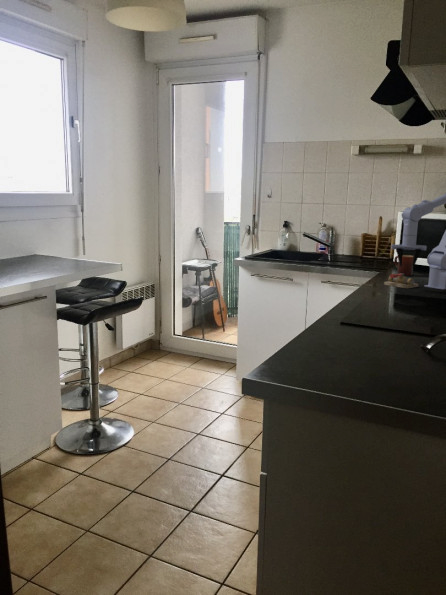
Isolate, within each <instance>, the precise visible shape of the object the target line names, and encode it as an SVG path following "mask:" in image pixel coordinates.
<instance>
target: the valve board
mask: <svg viewBox="0 0 446 595" xmlns="http://www.w3.org/2000/svg"><path fill="white" fill-rule="evenodd" d="M415 282H416V281H415V279H414V278H410V277H409V278H408V276H398V277H397V278H391V277H390V276H389V277H388V281H384V282H383V285H385V286H391V287H396V288H397V287H398V288H402V289H411V288H412V289H413V288H416V287H417V288H418V287H419V283H415Z"/></svg>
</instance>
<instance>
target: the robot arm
mask: <svg viewBox="0 0 446 595" xmlns="http://www.w3.org/2000/svg"><path fill="white" fill-rule="evenodd" d="M443 205H446V192H444V194H441V195H440V196H438V197H436V198H434V199H432V200H427V199H423V200H421V202H419V203H418V204H413V205H412V206H411V207H406V208H405V209H404V210H403V211H402V213H401V217H402V221H403V231H402V243H401V244H390V245H391V246H390V249H391V250H395V252H396V254H397V255H396V256H398V258H399V265H400V266H402V256H403V255H404V251H403V250H406V251H407V250H409V251H411V250H413V255H412V256H413V263H412V266H413V267H416V263H417V260H418V258H419V256H420V255H421V253H422V251H427V248H428V246H427V245H420V244H417V237H418V226H419V221H420V220H421V219H422V218H423V217H424V216H426V215H429V214H431V213H432V212H434V209H436V208H438V207H441V206H443ZM398 258H397V259H398ZM426 263H427V264H428V267H429V274H428V284H424V287H425V288H430V289H436V290H437V289H438V290H446V230H445V231H444V233H443V235H442V237H441V240H440V242H439V244H438V245H437V246H435V247H434V248H432V250H431V252H430V253H429V254H428V256H427V258H426Z"/></svg>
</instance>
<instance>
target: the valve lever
mask: <svg viewBox="0 0 446 595" xmlns="http://www.w3.org/2000/svg"><path fill="white" fill-rule="evenodd" d="M398 276H404V273H400V274H398V273H391V274H389V277H391V278H397V277H398ZM404 277H405V276H404Z"/></svg>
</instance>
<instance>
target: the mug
mask: <svg viewBox="0 0 446 595" xmlns="http://www.w3.org/2000/svg"><path fill="white" fill-rule="evenodd" d="M393 261H394V265H395V267H396V268H397V270H396V271H397V274H400V273H404V277H410V276H412V274H413V272H414V270H413V269H414V266H412V263H413V255H410V254H403V256H402V266H400V265H399V258H398V255H396V256H395V257H394V260H393Z"/></svg>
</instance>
